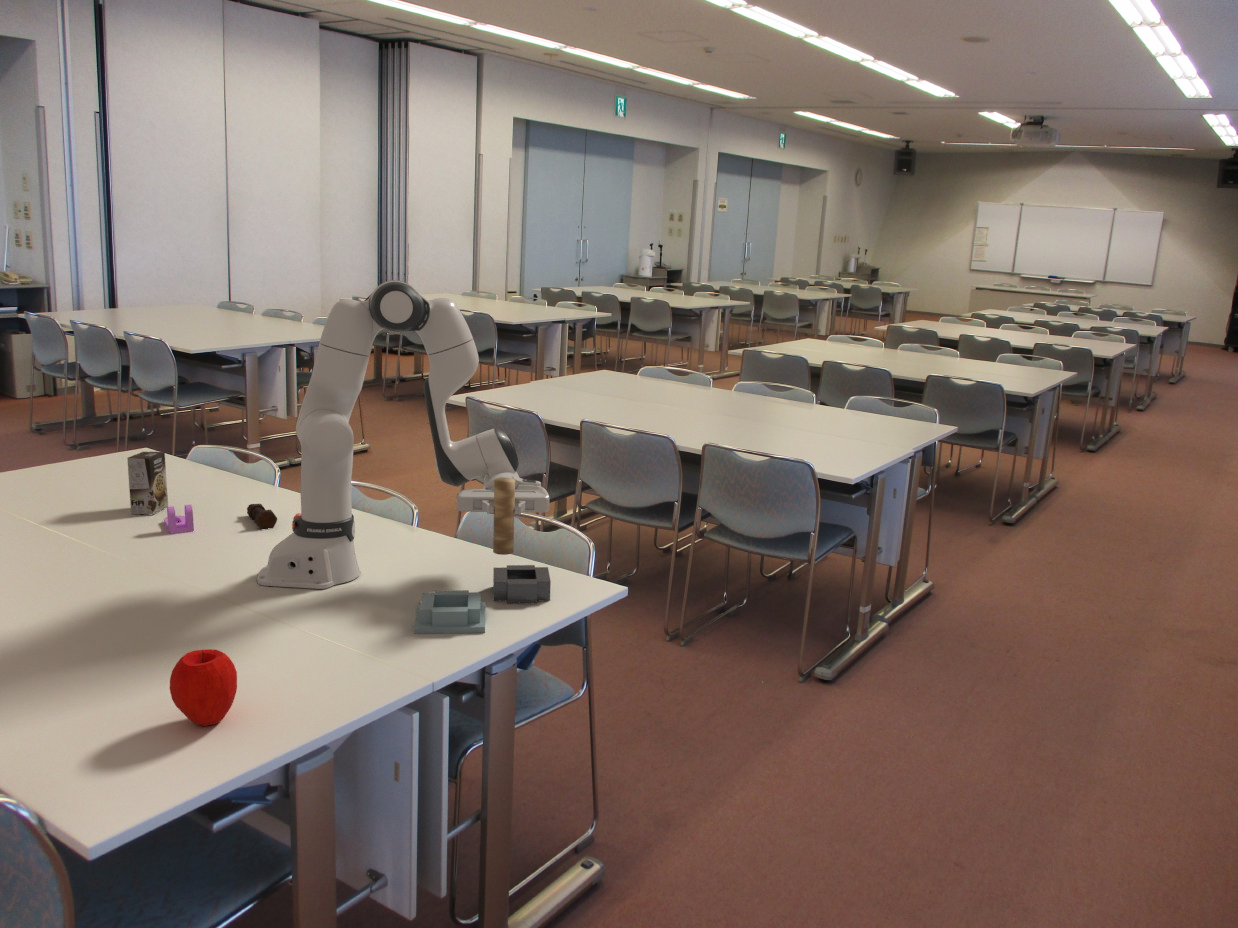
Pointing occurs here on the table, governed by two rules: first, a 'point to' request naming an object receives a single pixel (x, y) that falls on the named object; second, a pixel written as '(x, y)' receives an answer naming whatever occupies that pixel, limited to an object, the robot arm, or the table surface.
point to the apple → (204, 686)
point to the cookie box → (147, 482)
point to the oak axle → (504, 516)
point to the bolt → (261, 516)
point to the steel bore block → (521, 584)
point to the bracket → (185, 521)
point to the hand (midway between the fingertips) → (504, 510)
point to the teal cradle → (450, 613)
